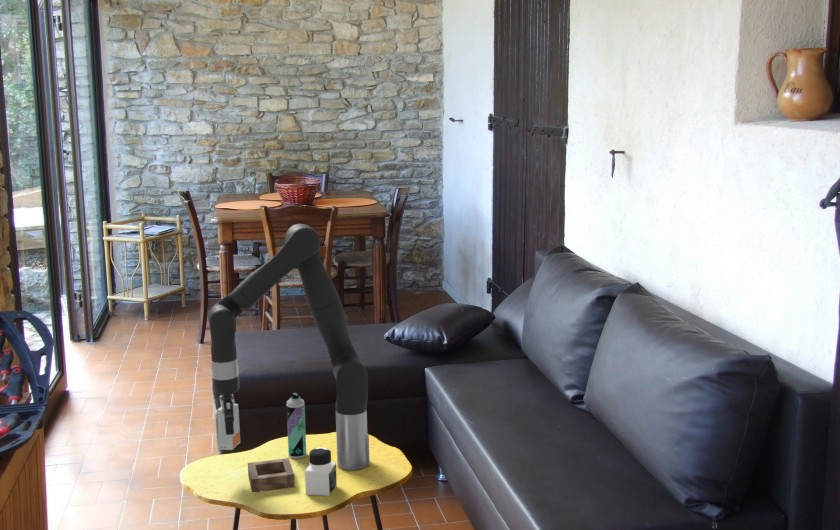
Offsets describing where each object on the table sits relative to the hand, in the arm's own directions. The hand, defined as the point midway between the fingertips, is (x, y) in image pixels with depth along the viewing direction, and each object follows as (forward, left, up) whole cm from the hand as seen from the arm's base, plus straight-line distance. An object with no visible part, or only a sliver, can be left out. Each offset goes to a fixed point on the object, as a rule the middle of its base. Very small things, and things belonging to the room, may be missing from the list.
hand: (229, 429), depth 256 cm
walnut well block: (-11, +5, -15) cm, 19 cm away
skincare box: (0, 0, -5) cm, 5 cm away
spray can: (-21, -12, -16) cm, 29 cm away
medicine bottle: (-24, +15, -16) cm, 32 cm away
